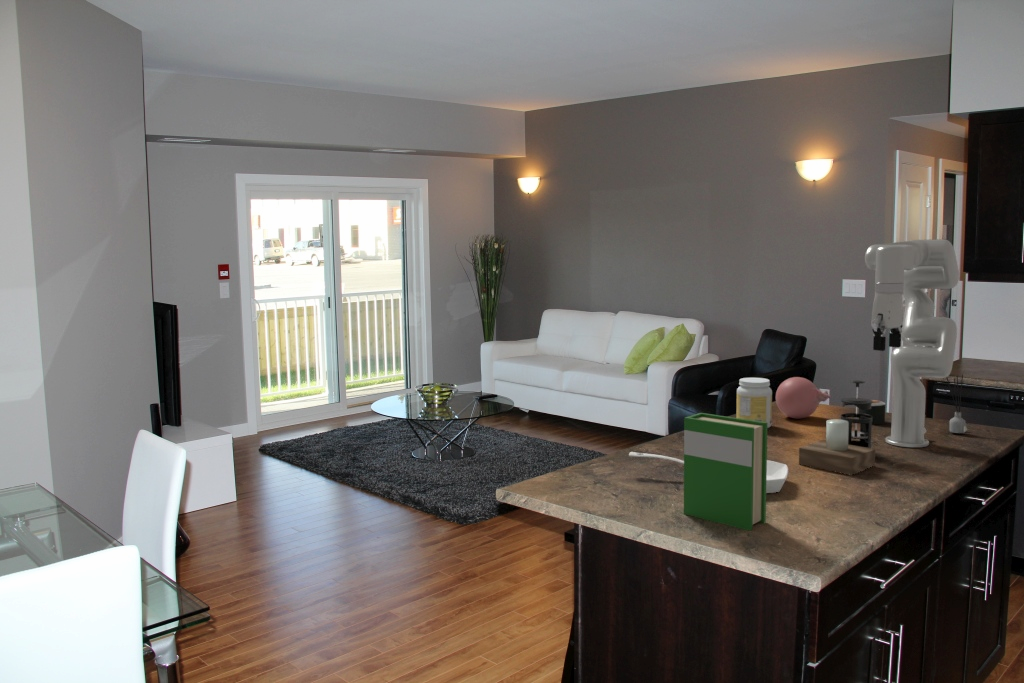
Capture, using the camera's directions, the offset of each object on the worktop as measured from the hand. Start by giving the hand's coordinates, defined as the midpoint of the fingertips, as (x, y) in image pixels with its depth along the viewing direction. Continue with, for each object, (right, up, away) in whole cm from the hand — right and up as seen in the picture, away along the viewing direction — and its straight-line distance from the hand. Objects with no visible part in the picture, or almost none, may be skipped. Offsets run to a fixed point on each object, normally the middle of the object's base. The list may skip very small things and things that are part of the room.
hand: (887, 348), depth 232 cm
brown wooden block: (-13, -34, +4) cm, 37 cm away
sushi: (+22, -27, +59) cm, 68 cm away
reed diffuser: (+42, -29, +40) cm, 65 cm away
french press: (-2, -33, +16) cm, 37 cm away
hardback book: (-57, -41, -39) cm, 80 cm away
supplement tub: (-22, -29, +56) cm, 66 cm away
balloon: (0, -27, +66) cm, 71 cm away
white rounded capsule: (-13, -29, +4) cm, 32 cm away
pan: (-54, -37, -8) cm, 66 cm away
